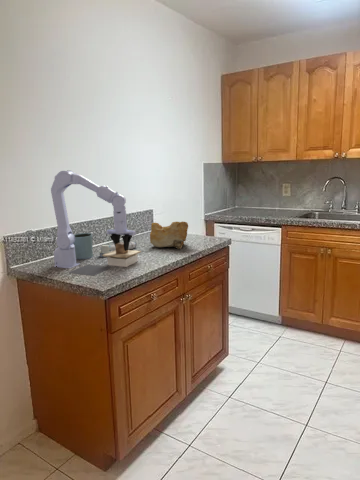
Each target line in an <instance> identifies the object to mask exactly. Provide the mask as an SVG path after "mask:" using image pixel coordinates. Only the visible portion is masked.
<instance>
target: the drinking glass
mask: <svg viewBox="0 0 360 480" xmlns="http://www.w3.org/2000/svg"><path fill="white" fill-rule="evenodd" d="M74 236H75V242H74V243H73V244H74V246H75V255H76V260H86V259H91V258H93V257H94V255H93V254H94V253H93V252H94V251H93V233H90V232H82V233H75V234H74Z"/></svg>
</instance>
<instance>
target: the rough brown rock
mask: <svg viewBox="0 0 360 480" xmlns="http://www.w3.org/2000/svg"><path fill="white" fill-rule="evenodd" d="M188 229H189V223H188V222H186V221H173V222H171V224H169V225H167V226H162V225H161V224H160V223H158V222H152V223H151V227H150V233H149V242H150V244H151V245H152V246H154V247H156V248H171V247H174V248H175V249H179V250H181V249H182V248H183V246H185V242H186V240H187V237H188V236H187V235H188Z"/></svg>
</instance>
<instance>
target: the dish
mask: <svg viewBox="0 0 360 480" xmlns="http://www.w3.org/2000/svg"><path fill="white" fill-rule="evenodd" d="M138 258H139V257H138V254H136V255H133V256H131V257H128V258H119V257H107V266H110V267H112V266H113V267H123V268H124V267H125V268H127V267H129V266H132V265H134V264H135V263H137V262H138V261H139V259H138Z"/></svg>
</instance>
